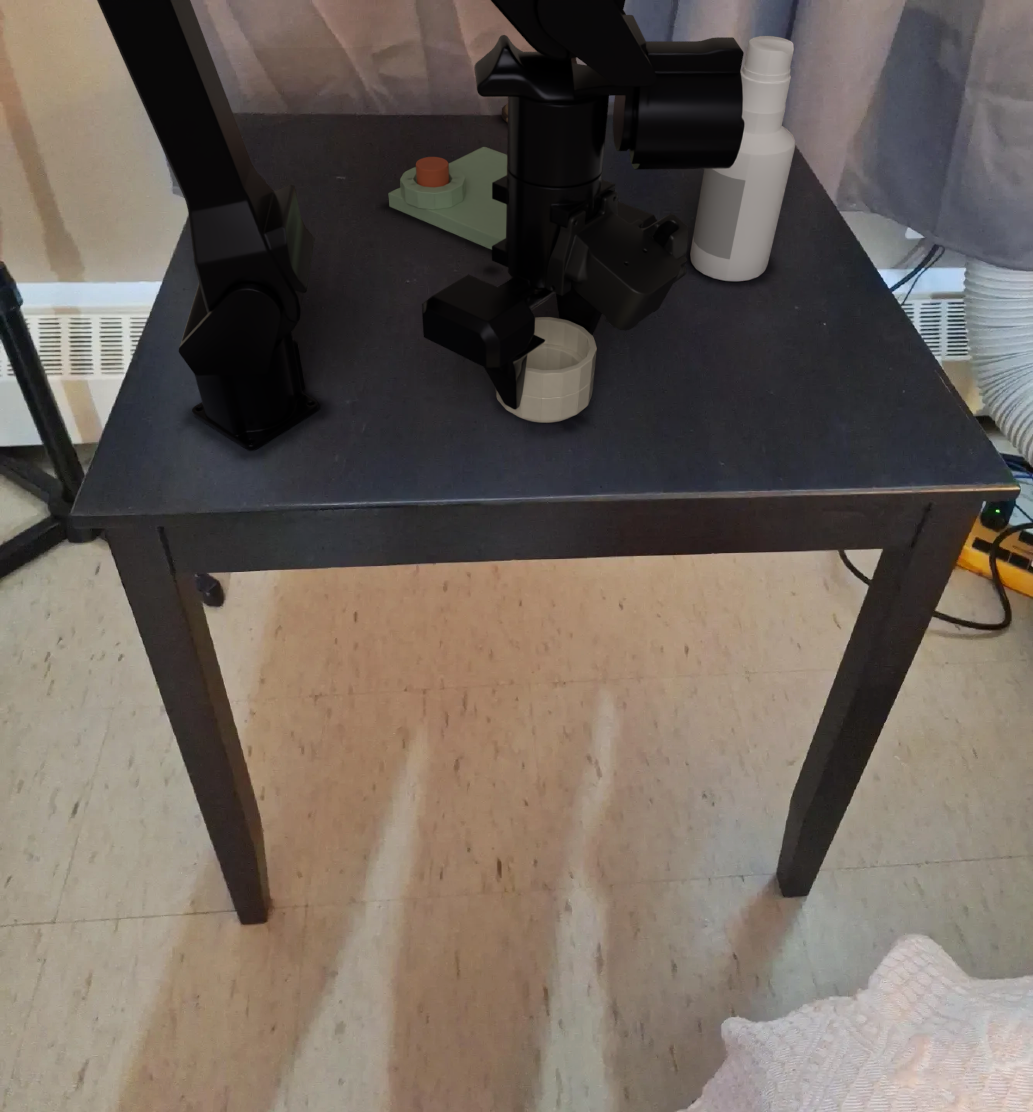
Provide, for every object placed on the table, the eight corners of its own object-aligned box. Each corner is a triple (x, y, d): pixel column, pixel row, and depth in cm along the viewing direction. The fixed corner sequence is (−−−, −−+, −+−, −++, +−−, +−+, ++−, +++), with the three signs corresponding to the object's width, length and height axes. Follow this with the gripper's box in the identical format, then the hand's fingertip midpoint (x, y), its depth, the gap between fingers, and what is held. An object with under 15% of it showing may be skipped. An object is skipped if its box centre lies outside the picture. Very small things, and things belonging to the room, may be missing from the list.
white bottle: (707, 237, 87) (745, 22, 74) (777, 257, 84) (830, 39, 71) (676, 269, 83) (711, 47, 70) (750, 291, 80) (800, 66, 67)
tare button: (434, 192, 86) (433, 173, 85) (410, 182, 87) (408, 164, 86) (455, 181, 88) (455, 162, 86) (431, 172, 89) (431, 153, 88)
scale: (499, 257, 83) (499, 225, 81) (385, 208, 89) (383, 177, 87) (594, 200, 91) (596, 170, 89) (484, 159, 97) (483, 130, 95)
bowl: (552, 439, 65) (555, 386, 62) (476, 400, 68) (475, 347, 64) (609, 394, 69) (615, 341, 65) (535, 358, 71) (537, 306, 68)
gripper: (570, 273, 47) (554, 500, 59) (751, 155, 58) (708, 368, 69) (408, 205, 52) (422, 427, 63) (602, 107, 62) (585, 314, 74)
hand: (543, 383), depth 67 cm, fingers closed on bowl, 7 cm apart
